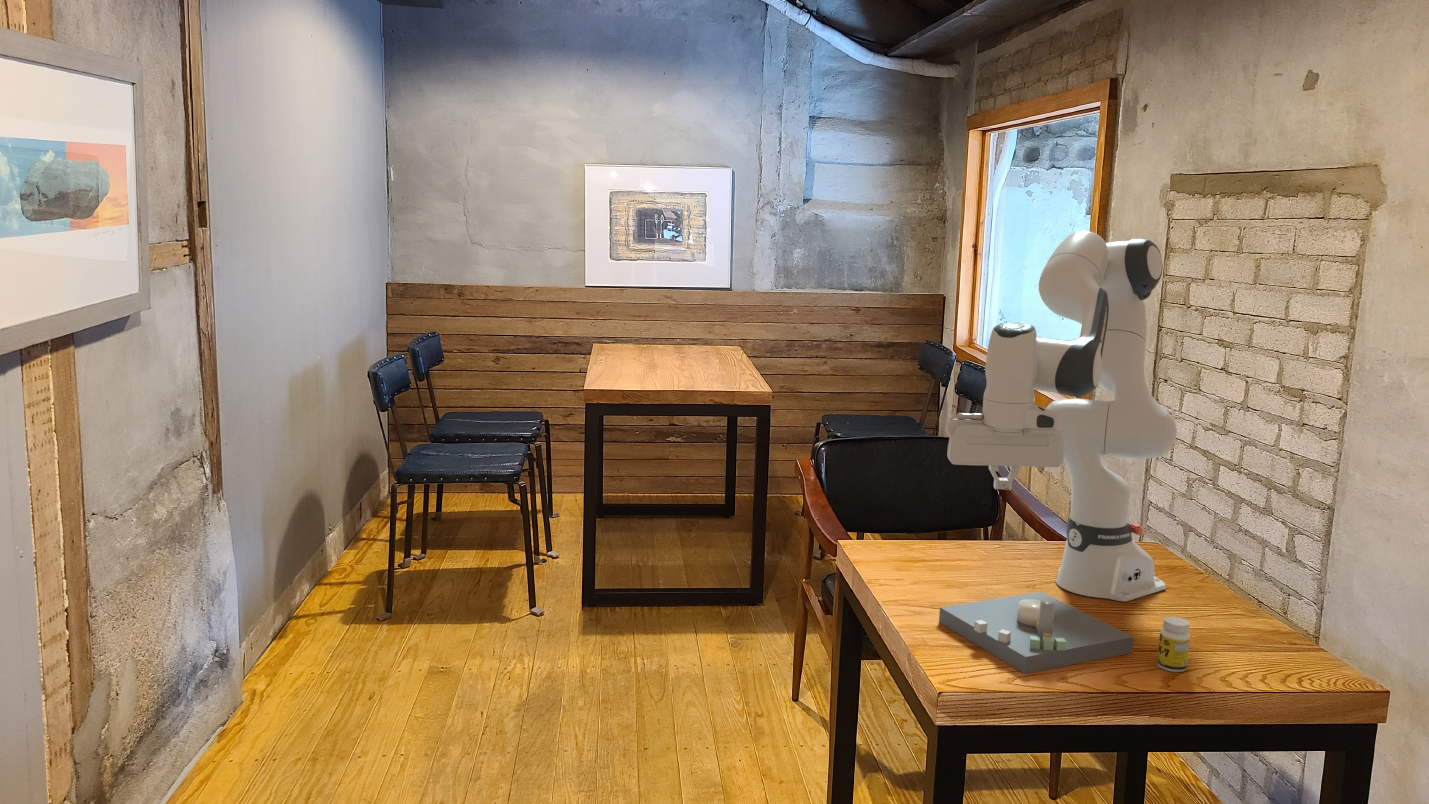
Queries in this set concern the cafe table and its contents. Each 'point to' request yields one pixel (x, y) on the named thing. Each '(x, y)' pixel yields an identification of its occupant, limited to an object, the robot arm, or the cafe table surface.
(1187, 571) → the cafe table surface
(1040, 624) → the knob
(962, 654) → the cafe table surface
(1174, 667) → the supplement bottle
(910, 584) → the cafe table surface
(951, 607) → the dial plate
